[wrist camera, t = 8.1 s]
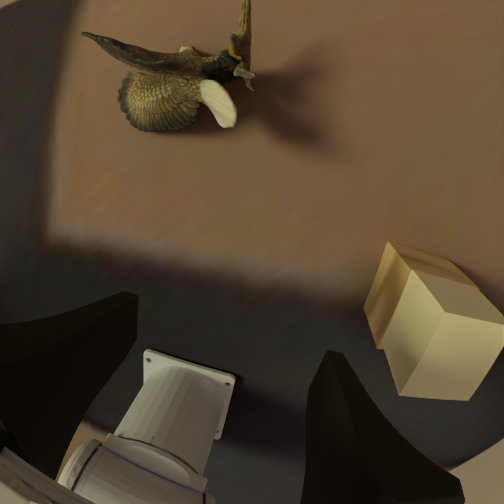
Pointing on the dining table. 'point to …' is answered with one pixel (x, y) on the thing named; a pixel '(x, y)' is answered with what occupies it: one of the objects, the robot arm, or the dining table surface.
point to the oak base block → (401, 282)
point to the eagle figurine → (181, 80)
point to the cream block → (442, 338)
